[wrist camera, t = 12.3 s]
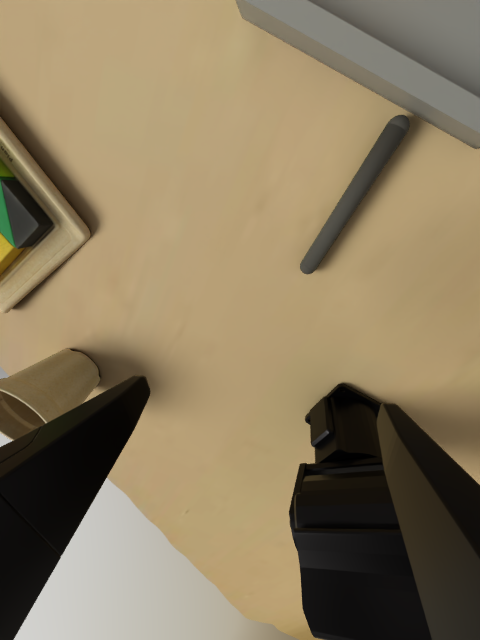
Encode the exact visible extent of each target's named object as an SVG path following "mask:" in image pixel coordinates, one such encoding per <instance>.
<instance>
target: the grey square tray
mask: <svg viewBox="0 0 480 640" xmlns="http://www.w3.org/2000/svg"><path fill="white" fill-rule="evenodd" d="M236 3H237V5H238V8H239V11H240V13H241V16H242V18H243V19H245V20H247V21H249V22H250V23H252V24H254V25H256V26H258V27H259V28H261V29H263V30H265V31H266V32H268V33H270V34H272V35H274V36H275V37H277V38H279V39H281V40H283V41H284V42H286V43H288V44H290V45H291V46H293V47H295V48H297V49H299V50H300V51H302V52H304V53H306V54H307V55H309V56H311V57H313V58H315V59H316V60H318V61H320V62H322V63H323V64H325V65H327V66H329V67H331V68H332V69H334V70H336V71H338V72H339V73H341V74H343V75H345V76H347V77H348V78H350V79H352V80H354V81H355V82H357V83H359V84H361V85H363V86H364V87H366V88H368V89H370V90H371V91H373V92H375V93H377V94H379V95H380V96H382V97H384V98H386V99H387V100H389V101H391V102H393V103H395V104H396V105H398V106H400V107H402V108H403V109H405V110H407V111H409V112H411V113H412V114H414V115H416V116H418V117H419V118H421V119H423V120H425V121H427V122H428V123H430V124H432V125H434V126H435V127H437V128H439V129H441V130H443V131H444V132H446V133H448V134H450V135H451V136H453V137H455V138H457V139H459V140H460V141H462V142H464V143H466V144H467V145H469V146H471V147H473V148H475V149H477V148H480V0H236Z"/></svg>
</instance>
